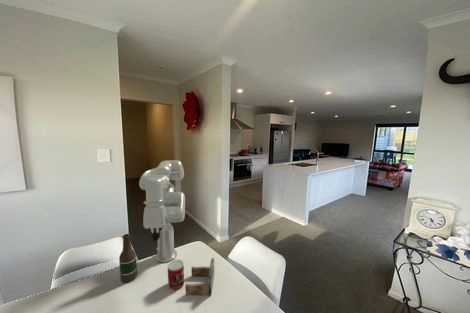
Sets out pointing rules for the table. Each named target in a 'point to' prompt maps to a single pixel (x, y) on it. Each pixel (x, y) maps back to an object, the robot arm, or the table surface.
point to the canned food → (175, 274)
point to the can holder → (201, 288)
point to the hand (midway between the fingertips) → (156, 239)
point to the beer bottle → (127, 261)
